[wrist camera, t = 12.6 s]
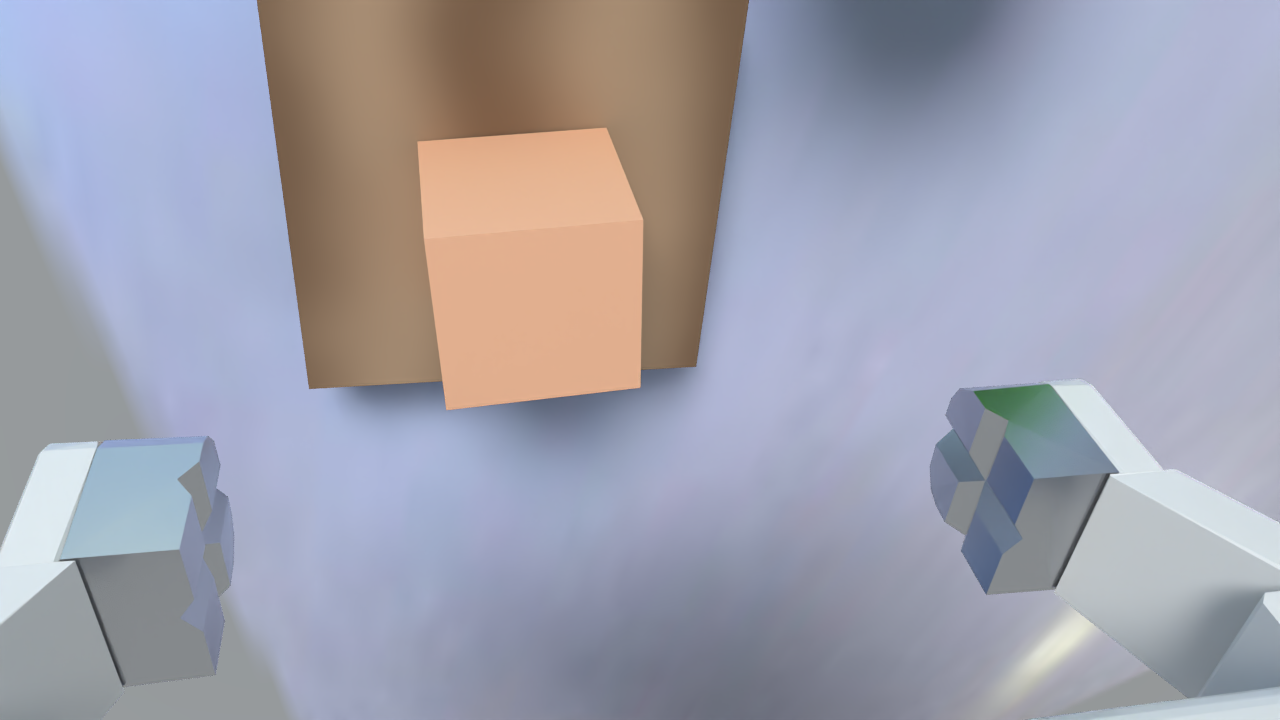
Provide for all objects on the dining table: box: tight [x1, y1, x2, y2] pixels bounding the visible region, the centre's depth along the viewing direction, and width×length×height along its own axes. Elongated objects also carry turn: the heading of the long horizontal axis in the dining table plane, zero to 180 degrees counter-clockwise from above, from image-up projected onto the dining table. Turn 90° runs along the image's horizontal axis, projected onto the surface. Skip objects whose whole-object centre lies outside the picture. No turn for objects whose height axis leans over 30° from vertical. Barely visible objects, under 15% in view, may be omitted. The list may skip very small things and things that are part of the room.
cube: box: [417, 128, 643, 410], centre depth 27 cm, size 5×5×5 cm
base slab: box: [257, 0, 749, 389], centre depth 30 cm, size 12×12×4 cm
